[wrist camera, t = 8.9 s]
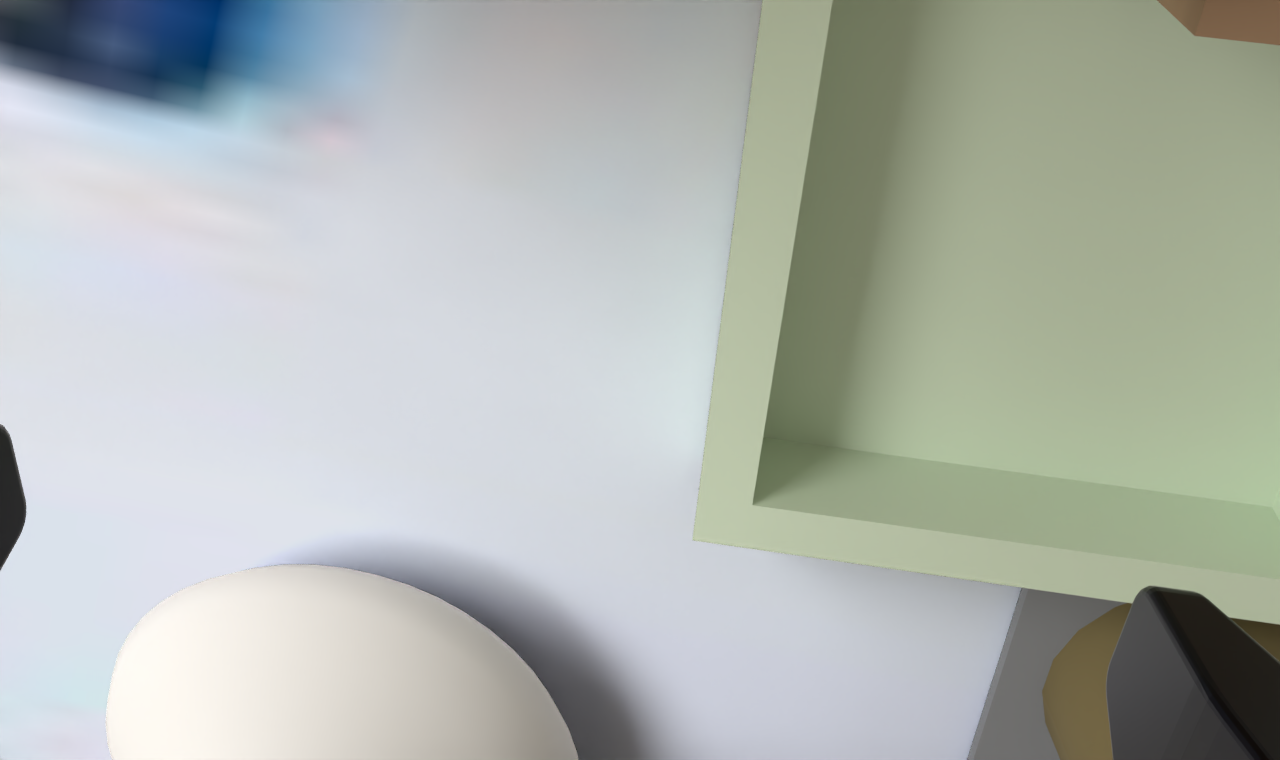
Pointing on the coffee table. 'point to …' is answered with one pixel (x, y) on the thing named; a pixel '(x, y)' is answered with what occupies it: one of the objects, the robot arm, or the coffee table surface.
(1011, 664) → the pad
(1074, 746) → the cork
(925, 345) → the tray
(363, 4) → the coffee table surface
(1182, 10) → the walnut block
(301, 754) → the flower in vase
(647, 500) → the coffee table surface
